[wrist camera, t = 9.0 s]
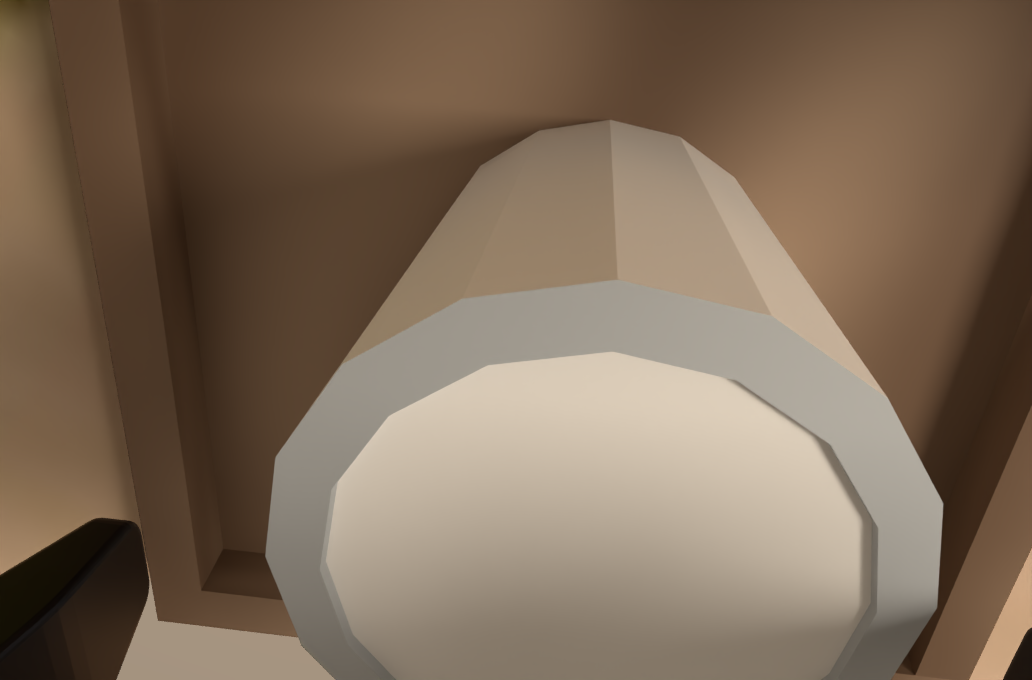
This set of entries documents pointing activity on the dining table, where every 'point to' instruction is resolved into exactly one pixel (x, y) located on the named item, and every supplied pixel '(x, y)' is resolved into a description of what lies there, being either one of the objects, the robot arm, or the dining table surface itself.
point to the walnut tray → (484, 135)
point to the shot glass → (604, 447)
